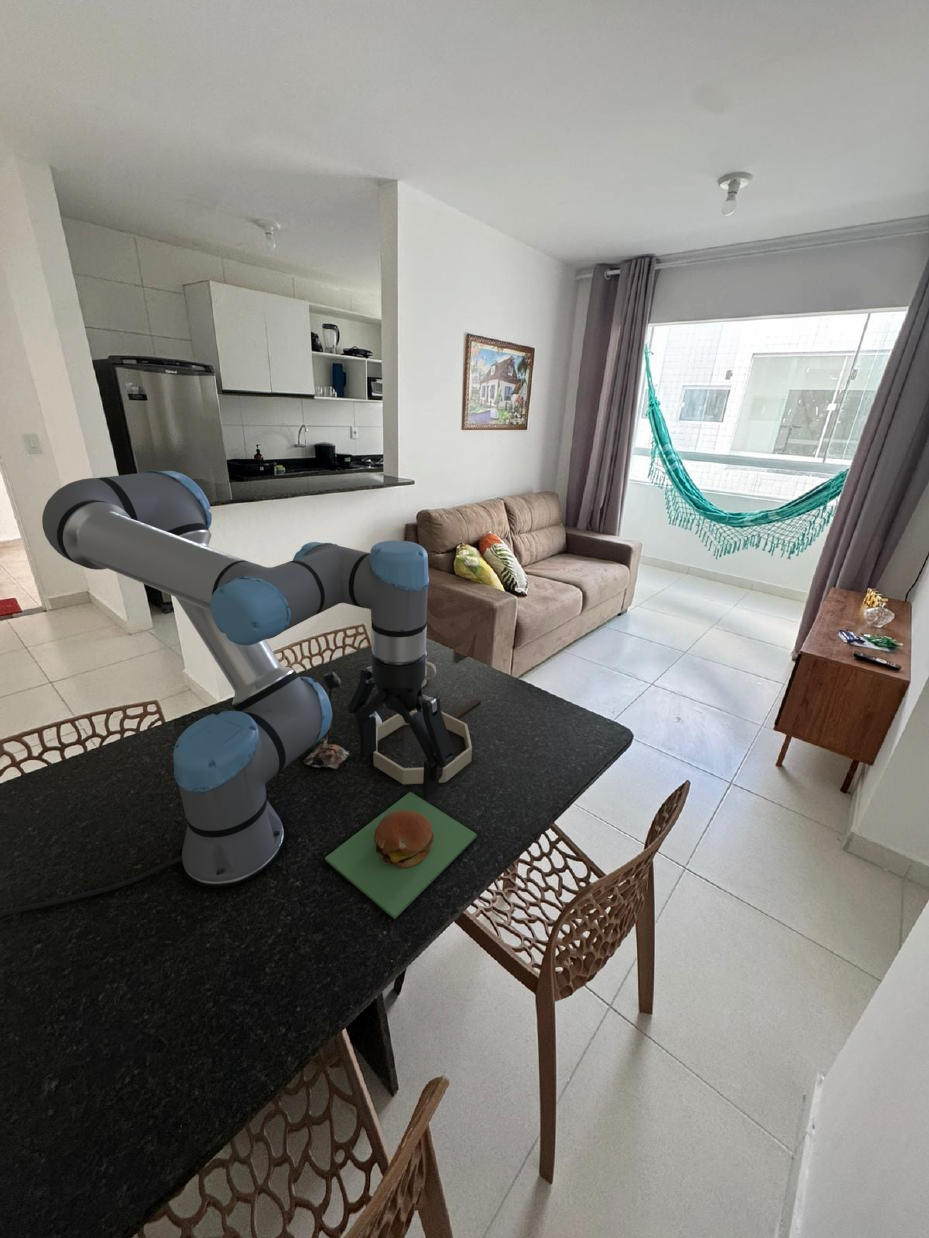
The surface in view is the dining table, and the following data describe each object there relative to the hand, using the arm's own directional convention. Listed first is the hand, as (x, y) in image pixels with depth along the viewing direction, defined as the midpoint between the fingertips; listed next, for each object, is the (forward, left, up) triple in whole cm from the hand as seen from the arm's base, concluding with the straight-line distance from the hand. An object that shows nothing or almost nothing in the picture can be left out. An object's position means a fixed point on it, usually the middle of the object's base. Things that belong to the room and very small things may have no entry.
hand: (398, 772), depth 80 cm
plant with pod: (+6, +28, -16) cm, 33 cm away
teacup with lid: (+40, +34, -16) cm, 55 cm away
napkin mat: (0, -1, -16) cm, 16 cm away
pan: (+26, +14, -16) cm, 34 cm away
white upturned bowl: (+20, +29, -16) cm, 39 cm away
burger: (0, -1, -15) cm, 15 cm away
